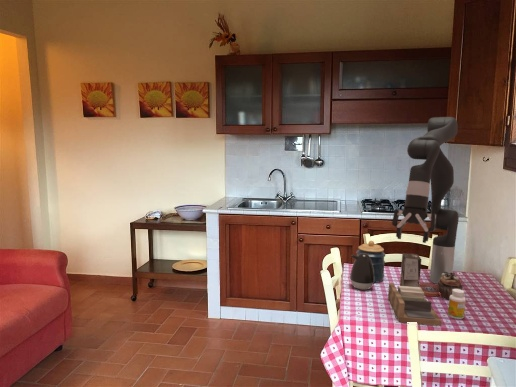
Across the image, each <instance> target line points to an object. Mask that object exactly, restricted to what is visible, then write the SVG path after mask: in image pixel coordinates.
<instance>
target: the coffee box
mask: <svg viewBox="0 0 516 387" xmlns="http://www.w3.org/2000/svg"><path fill="white" fill-rule="evenodd" d="M400 267H401V268H400V282H399V286H408V287H420V280H421V279H420V278H421V267H422V258H421V257H420V255H419V254H418V253H405V252H402V254H401V266H400Z"/></svg>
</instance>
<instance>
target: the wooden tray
mask: <svg viewBox="0 0 516 387" xmlns="http://www.w3.org/2000/svg"><path fill="white" fill-rule="evenodd" d="M387 292H388V293H387V294H388V295H387V300H388V304H389V305H390V307H391V309H392V312H393V313H394V316H395V317H396V320H397V322H398V324H400V323H401V324H408V323H407V322H417V323H418V324H417V325H424V326H425V325H426V326H435V327H442V319H441V317H440V316H439V315H438V314H437V312H436V310H434V308H433V307H432V301H430V300H428V299H427V298H426V297H425V292H424V291H423V289H422V287H421V286H419V287H408V286H400V285H398V286H397V287H396V285H395V284H394V282H388V290H387Z"/></svg>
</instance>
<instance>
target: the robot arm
mask: <svg viewBox="0 0 516 387" xmlns="http://www.w3.org/2000/svg"><path fill="white" fill-rule="evenodd" d="M458 126H459V125H458V120H457V119H456V117H453V116H439V117H438V116H435V117H431V118H429V119H428V121H427V132H426V133H425V134H424V135H423V136H418V137H416V138H414V139H411V141H410V142H409V144H408V145H407V147H406V148H407V155H408V157H409V158H411V159H413V160H421V161H422V160H424V162H423V163H421V164H416V165H413V166H411V167H410V170H409V175H408V176H409V177H408V183H407V187H406V192H405V202H404V208H403V210H400V209H398V208H396V209H394V211H393V217H392V221H391V225H392V226H394V227H395V228H396V231H395V232H396V233H395V237H396V238H397V239H398V240H401V239H402V234H403V227H404V226H406V225H407V223H408V224H415V225H420V226H421V228H422V229H423V230H424V231H423V236H422V243H424V244H426V243H427V242H428V241H429V237H430V233H431V232H435V231H436V230H442V231H447V232H446V234H443V235H438V236H435V237H433V239H432V250H431V260H430V261H431V262H430V270H429V271H430V272H429V273H430V274H429V281H430V282H431V283H434V284H436V285H437V283H438V281H439V280H440V278H441V277H442V273H444V272H447V273H448V275H450V274H449V273H454V272H453V271H454V260H455V250H456V249H455V248H456V241H457V233H458V224H459V219H460V218H459V216H460V215H459V213H458V211H457V210H453V209H445V208H441V204H442V201H443V200H444V198H445V197H446V195H447V194H448V192H449V191H450V190H451V189H452V187H453V185H454V182H455V180H454V179H455V178H454V171H455V170H454V166H453V164H452V163H451V162H450V160H449V159H448V157H447V156H446V155H445V153H444V152H443V150H442V149H441V145H443V144H445V143H447V142H449V141H450V140H453V139H455V137H456V136H457V134H458V129H459V128H458ZM430 189H431V190H430ZM430 192H431V202H430V203H431V205H430V206H431V208H430V213H428V206H429V199H430ZM401 215H402V216H403V218H402V219H401V221H400V222H399V217H400V216H401ZM427 218H428V219H429V220H430V227H429V226H428V225H427V223H426V219H427ZM398 222H399V223H398Z"/></svg>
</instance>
